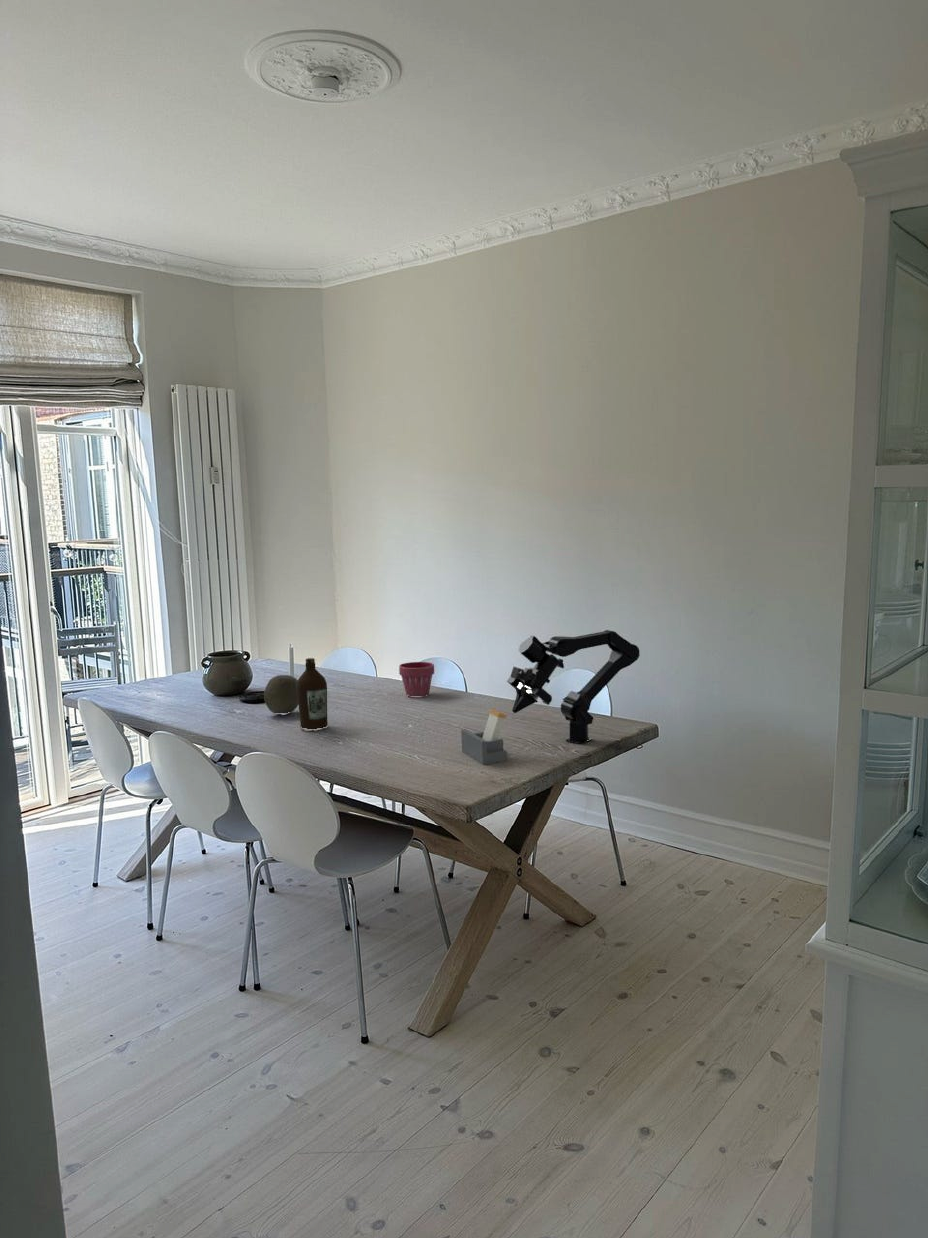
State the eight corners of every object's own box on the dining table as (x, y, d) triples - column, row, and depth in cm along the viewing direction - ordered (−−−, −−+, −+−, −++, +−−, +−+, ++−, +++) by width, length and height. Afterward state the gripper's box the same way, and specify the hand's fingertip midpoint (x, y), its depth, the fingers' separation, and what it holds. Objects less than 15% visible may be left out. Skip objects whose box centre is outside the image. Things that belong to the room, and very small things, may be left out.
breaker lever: (487, 741, 270) (497, 710, 270) (496, 746, 264) (506, 715, 264) (480, 739, 269) (490, 708, 269) (489, 744, 263) (499, 713, 263)
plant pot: (442, 693, 356) (440, 662, 354) (422, 700, 344) (421, 669, 343) (413, 690, 364) (412, 660, 362) (393, 697, 352) (391, 666, 350)
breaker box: (485, 747, 275) (484, 726, 274) (507, 760, 261) (506, 738, 260) (462, 751, 272) (461, 729, 271) (482, 764, 258) (481, 741, 257)
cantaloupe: (299, 718, 324) (296, 678, 322) (261, 719, 324) (258, 680, 322) (306, 709, 338) (304, 671, 336) (270, 710, 338) (268, 672, 336)
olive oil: (294, 727, 310) (289, 658, 306) (321, 722, 315) (317, 655, 312) (306, 733, 301) (301, 662, 297) (334, 728, 306) (330, 658, 303)
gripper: (510, 651, 276) (482, 691, 273) (541, 663, 259) (511, 705, 257) (533, 670, 281) (505, 710, 278) (564, 683, 264) (535, 725, 262)
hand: (513, 712), depth 269 cm, fingers closed
